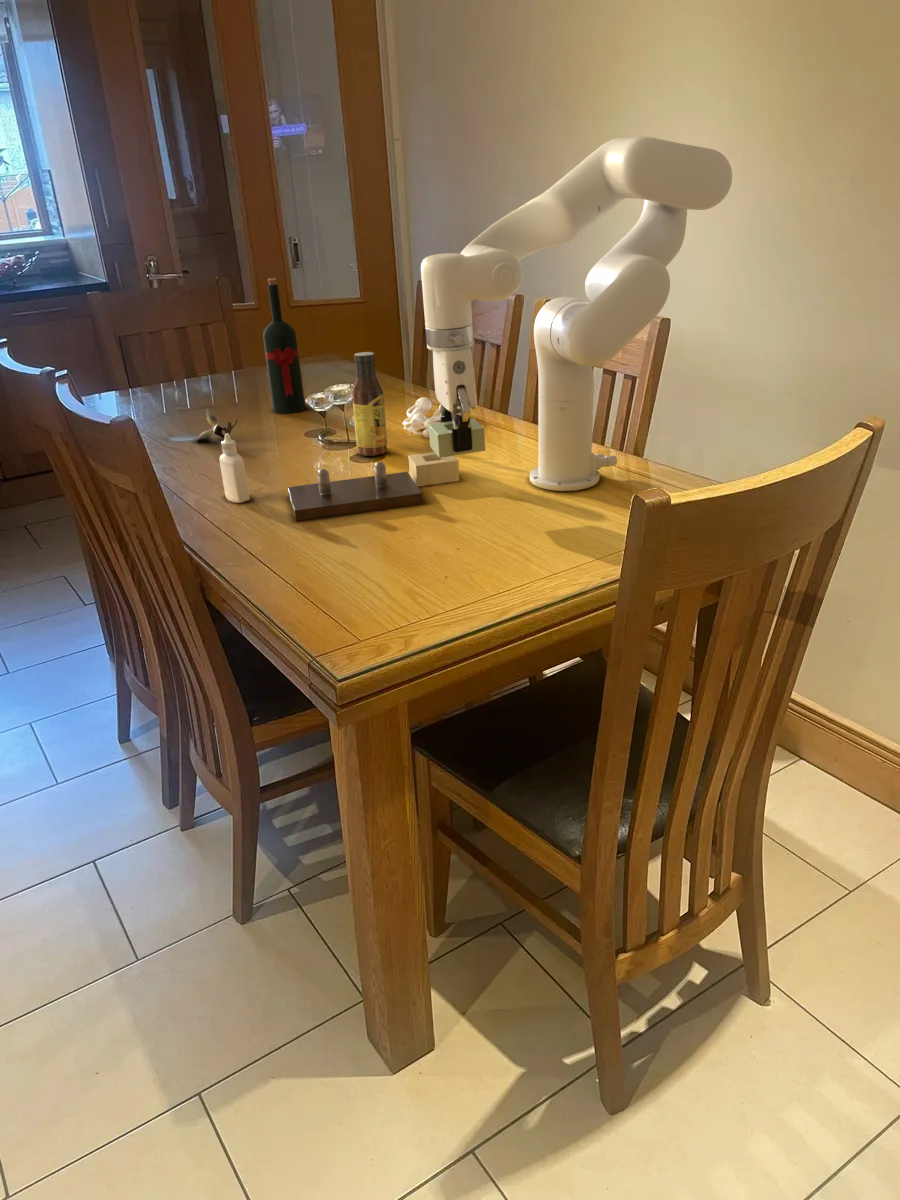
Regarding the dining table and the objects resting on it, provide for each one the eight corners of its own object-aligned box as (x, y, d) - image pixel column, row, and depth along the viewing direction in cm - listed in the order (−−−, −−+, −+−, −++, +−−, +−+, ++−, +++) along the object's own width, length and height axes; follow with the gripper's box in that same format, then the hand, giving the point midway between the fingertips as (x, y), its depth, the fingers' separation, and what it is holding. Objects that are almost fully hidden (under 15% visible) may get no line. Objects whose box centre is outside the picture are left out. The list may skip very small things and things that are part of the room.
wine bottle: (275, 417, 204) (256, 283, 190) (271, 406, 213) (253, 278, 199) (308, 413, 206) (292, 280, 192) (303, 403, 214) (287, 275, 201)
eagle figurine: (244, 430, 191) (211, 420, 194) (233, 409, 184) (199, 399, 187) (226, 457, 188) (193, 446, 191) (214, 436, 182) (180, 425, 184)
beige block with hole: (450, 470, 165) (449, 450, 163) (459, 481, 159) (458, 460, 157) (409, 475, 163) (408, 455, 161) (417, 486, 157) (415, 465, 155)
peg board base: (408, 481, 160) (405, 447, 157) (422, 503, 150) (420, 468, 147) (289, 497, 155) (284, 463, 152) (296, 521, 145) (291, 484, 142)
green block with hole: (474, 440, 150) (473, 417, 149) (485, 450, 145) (484, 427, 143) (430, 446, 149) (428, 424, 147) (439, 458, 143) (437, 434, 141)
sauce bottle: (383, 457, 173) (374, 357, 164) (353, 457, 174) (343, 357, 165) (391, 447, 179) (383, 350, 170) (362, 447, 180) (353, 350, 171)
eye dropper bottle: (225, 505, 153) (213, 439, 148) (225, 494, 158) (214, 431, 153) (249, 502, 154) (239, 437, 148) (250, 492, 159) (239, 428, 153)
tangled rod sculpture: (455, 445, 182) (456, 426, 180) (389, 438, 185) (389, 419, 183) (474, 417, 198) (474, 399, 196) (413, 410, 201) (413, 393, 199)
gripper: (488, 343, 131) (493, 456, 140) (457, 325, 146) (464, 427, 155) (440, 350, 130) (448, 463, 138) (414, 330, 145) (423, 433, 153)
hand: (457, 443), depth 146 cm, fingers closed on green block with hole, 6 cm apart
